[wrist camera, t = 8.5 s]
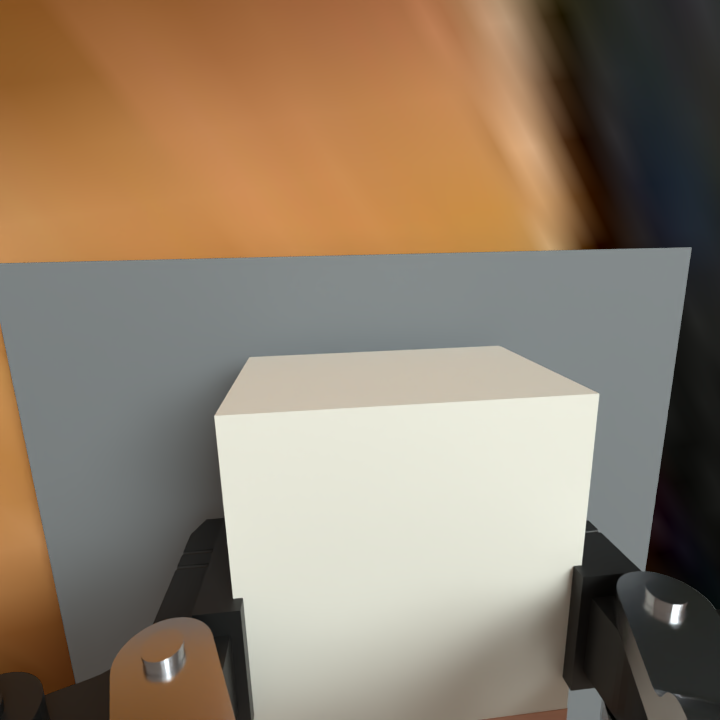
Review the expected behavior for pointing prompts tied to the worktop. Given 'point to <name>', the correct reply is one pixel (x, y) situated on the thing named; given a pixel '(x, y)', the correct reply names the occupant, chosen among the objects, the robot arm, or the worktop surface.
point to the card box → (405, 531)
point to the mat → (297, 337)
